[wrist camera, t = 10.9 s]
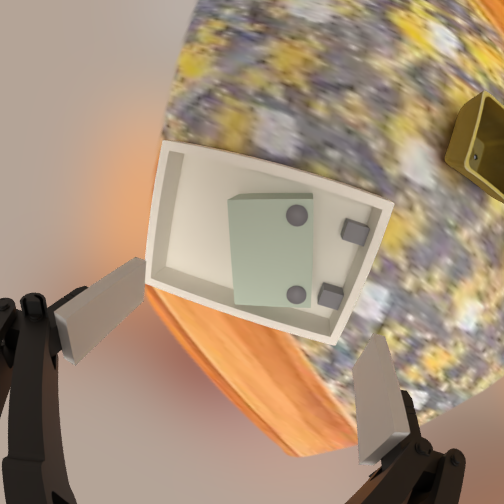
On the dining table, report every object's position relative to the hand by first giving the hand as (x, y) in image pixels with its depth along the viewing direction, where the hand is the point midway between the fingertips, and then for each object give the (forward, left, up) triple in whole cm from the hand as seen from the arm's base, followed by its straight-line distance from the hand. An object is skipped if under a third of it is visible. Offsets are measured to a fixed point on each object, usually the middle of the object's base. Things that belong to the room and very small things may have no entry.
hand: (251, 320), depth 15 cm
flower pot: (-17, +18, -19) cm, 32 cm away
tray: (+1, -3, -19) cm, 19 cm away
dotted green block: (+1, -1, -18) cm, 18 cm away
